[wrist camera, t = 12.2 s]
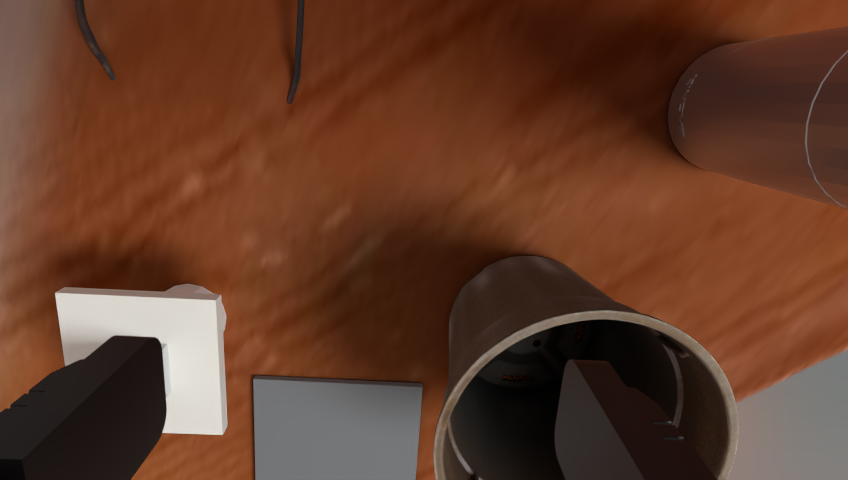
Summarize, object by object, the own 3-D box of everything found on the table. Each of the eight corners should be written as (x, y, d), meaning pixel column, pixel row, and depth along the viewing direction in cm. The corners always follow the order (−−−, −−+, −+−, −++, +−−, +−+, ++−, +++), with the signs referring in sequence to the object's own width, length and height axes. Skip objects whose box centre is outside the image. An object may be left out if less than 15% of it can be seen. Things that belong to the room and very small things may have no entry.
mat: (422, 383, 44) (422, 387, 44) (412, 518, 48) (412, 523, 48) (255, 375, 44) (253, 378, 43) (258, 512, 48) (256, 517, 47)
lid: (221, 294, 34) (175, 344, 28) (227, 425, 37) (186, 500, 30) (64, 287, 34) (-21, 335, 27) (83, 420, 37) (9, 494, 30)
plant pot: (622, 217, 41) (751, 294, 25) (623, 398, 45) (733, 558, 30) (414, 240, 41) (416, 332, 25) (436, 418, 45) (449, 588, 30)
